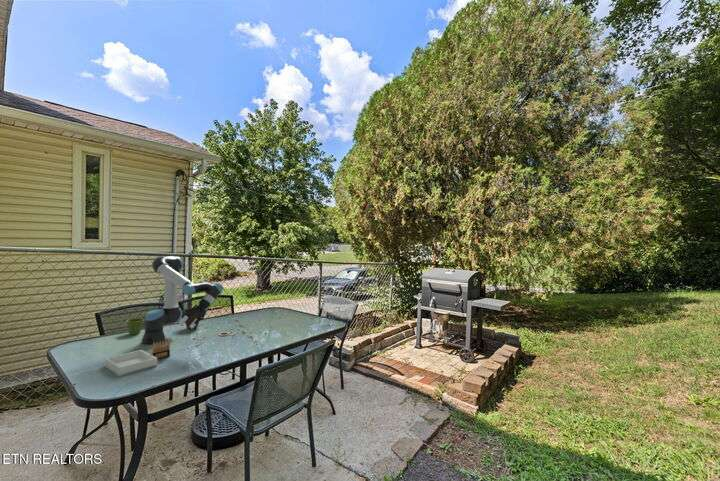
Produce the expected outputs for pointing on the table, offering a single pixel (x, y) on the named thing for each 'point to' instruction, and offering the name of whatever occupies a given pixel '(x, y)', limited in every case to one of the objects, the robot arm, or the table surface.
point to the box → (130, 362)
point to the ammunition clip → (161, 350)
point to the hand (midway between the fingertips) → (185, 325)
